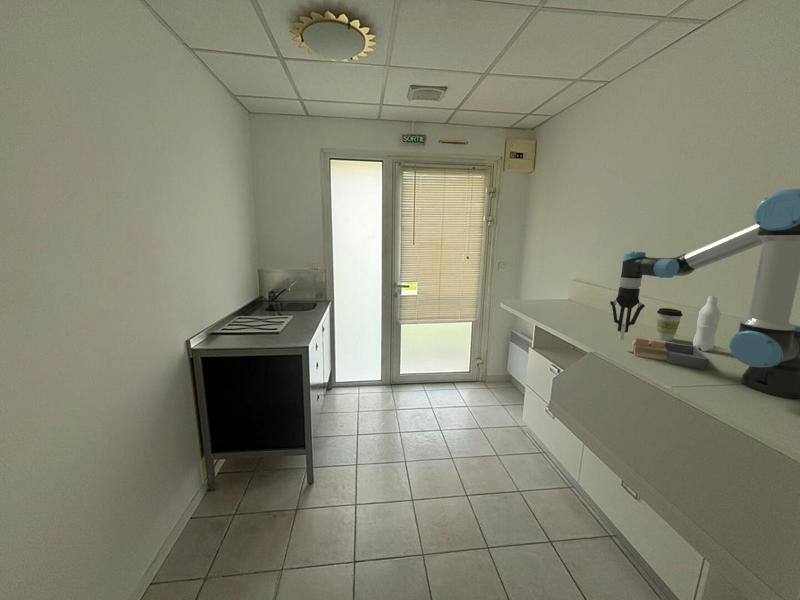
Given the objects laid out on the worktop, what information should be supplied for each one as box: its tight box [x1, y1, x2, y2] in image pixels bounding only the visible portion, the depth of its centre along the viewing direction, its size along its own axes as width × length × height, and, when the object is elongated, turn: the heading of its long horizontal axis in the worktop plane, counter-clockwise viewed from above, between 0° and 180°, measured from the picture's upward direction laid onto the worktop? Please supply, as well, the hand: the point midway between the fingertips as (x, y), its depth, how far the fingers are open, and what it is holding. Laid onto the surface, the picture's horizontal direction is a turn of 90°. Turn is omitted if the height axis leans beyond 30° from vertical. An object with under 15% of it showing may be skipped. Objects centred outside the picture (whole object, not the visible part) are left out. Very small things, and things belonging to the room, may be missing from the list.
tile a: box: [634, 336, 650, 346], centre depth 144 cm, size 4×4×2 cm
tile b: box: [649, 337, 666, 349], centre depth 141 cm, size 4×4×2 cm
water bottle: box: [692, 294, 722, 352], centre depth 147 cm, size 7×7×25 cm
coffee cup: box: [656, 307, 683, 342], centre depth 163 cm, size 10×10×15 cm
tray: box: [664, 341, 710, 370], centre depth 138 cm, size 18×12×4 cm, turn 150°
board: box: [630, 338, 668, 362], centre depth 143 cm, size 12×11×4 cm
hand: (621, 338), depth 148 cm, fingers closed
